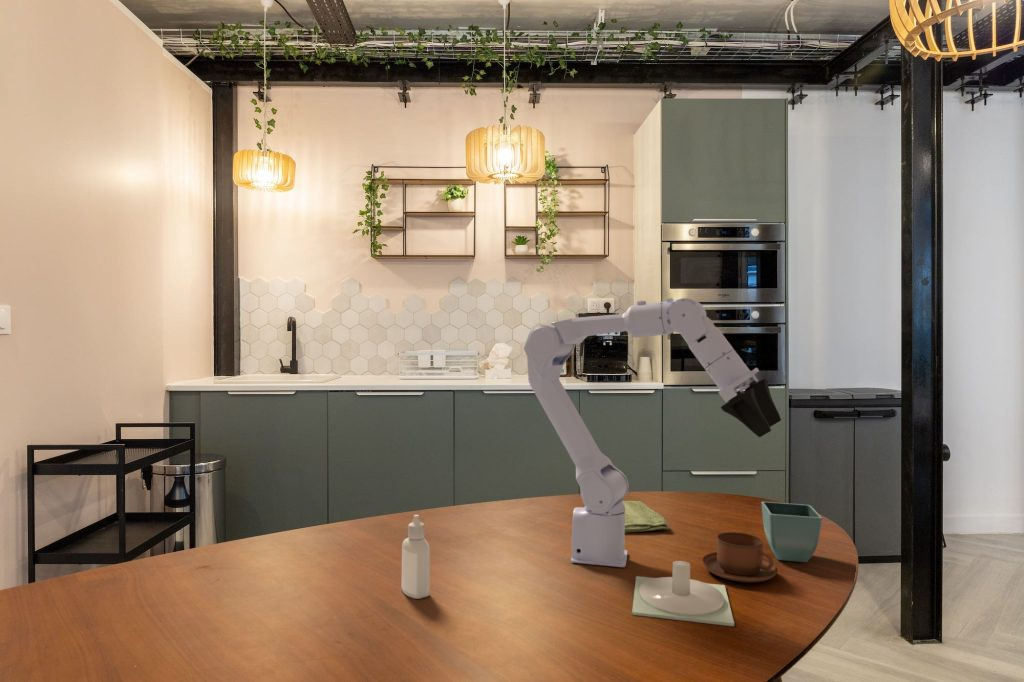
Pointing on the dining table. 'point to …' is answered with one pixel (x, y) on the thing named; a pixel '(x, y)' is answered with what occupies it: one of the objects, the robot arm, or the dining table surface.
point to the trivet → (718, 617)
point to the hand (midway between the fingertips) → (770, 428)
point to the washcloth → (642, 518)
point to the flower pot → (791, 530)
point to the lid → (681, 593)
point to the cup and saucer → (740, 558)
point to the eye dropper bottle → (416, 562)
